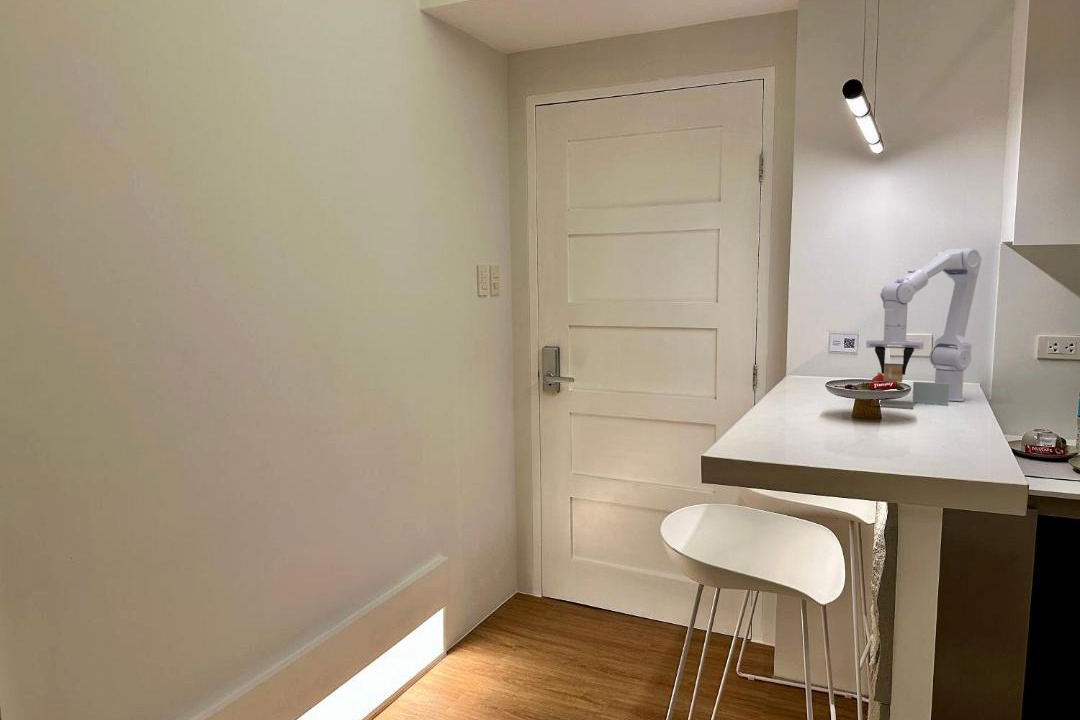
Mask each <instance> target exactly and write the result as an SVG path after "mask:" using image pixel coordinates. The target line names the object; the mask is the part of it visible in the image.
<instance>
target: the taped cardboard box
mask: <svg viewBox="0 0 1080 720" xmlns="http://www.w3.org/2000/svg"><path fill="white" fill-rule="evenodd" d="M902 369H903V363H887V362H886V363H885V365H884V374H883V376H884V380H883V381H886V382H890V383H902V382H903V376H904V375H902Z"/></svg>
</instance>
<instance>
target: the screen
mask: <svg viewBox="0 0 1080 720" xmlns="http://www.w3.org/2000/svg"><path fill="white" fill-rule="evenodd" d="M912 383H913V384H912V400H911V402H914V404H916V403H924V404H923V405H932V404H937V405H936V406H949V401H948V396H949V383H935V382H927V381H926V382H925V381H913V382H912Z"/></svg>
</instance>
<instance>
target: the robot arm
mask: <svg viewBox="0 0 1080 720" xmlns="http://www.w3.org/2000/svg"><path fill="white" fill-rule="evenodd" d="M981 263H982V256H981V254H980V253H979V251H978V249H977V248H975V247H966V248H943V249H941V250H940V251H938V252H936V254H935V257H934V258H933V259H931V260H930V261H929V262H928V263H926V264H925V265H924V266H922V267H921V268H910V269H908V270H907V273H906V274H905V275H903V276H901V277H898V278H897V279H896V280H895V281H894V282H889V283H887V284H885V285H884V286H883V288H882V289H881V292H880V294H879V295H880V299H881V302H882V304H883V305H882V308H883V309H884V320H883V323H884V324H883V340H866V343H865V345H866V347H865V348H866V349H867V348H868V349H869V348H870V349H871V348H874V352H875V354H876V357H877V359H878V361H879V365H880V371H881V372H880V373H881V374H882V375H884V365H885V361H886V359H885V358H886V349H902V350H903V361H902V364H903V369H902V375H903V376H905V375H906V370H907V367H908V363H909V361H910V359H911V357H912V355H913V353H914V351H915V350H924V341H910V340H909V341H907V325H908V323H907V322H908V303H911V302H912V300H913V297H914V295H915V294H916V293H917V292H919V291H920V290H922V289H924V288H925V287H927V285H928V284H929V279H931V278H933V277H934V276H936V275H937V274H939V273H941V272H943V273H944V274H945V275H947V277H949V279H952V281H953V283H954V285H953V291H952V295H951V300H950V304H949V307H948V309H949V310H948V313H947V318H946V323H945V328H944V331H943V335H942V336H939V338H937V339H935V340H934V344H933V347H932V348H931V349H930V353H929V361H930V363H931V365H932V366H933V369H935V374H934V375H935V377H934V383H949V396H948V402H950V401H951V402H964V401H965V399H964V395H963V388H964V371H966V370H967V368H968V367H969V365H970V363H971V361H972V353H971V351H972V344H971V343H969V341H968V340H967V339H966V338H965V335H966V331H967V327H968V322H969V319H970V315H971V314H970V313H971V308H972V304H973V299H974V295H975V290H976V286H977V281H978V278H979V274H980V273H979V272H980V268H981Z"/></svg>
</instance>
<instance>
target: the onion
mask: <svg viewBox="0 0 1080 720" xmlns="http://www.w3.org/2000/svg"><path fill="white" fill-rule="evenodd" d="M883 380H884V374H882V372H879V371H877V375H875V376H874V377H873V378H872V379H871V380H870V382H874V381H883ZM870 382H869V383H870Z"/></svg>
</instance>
